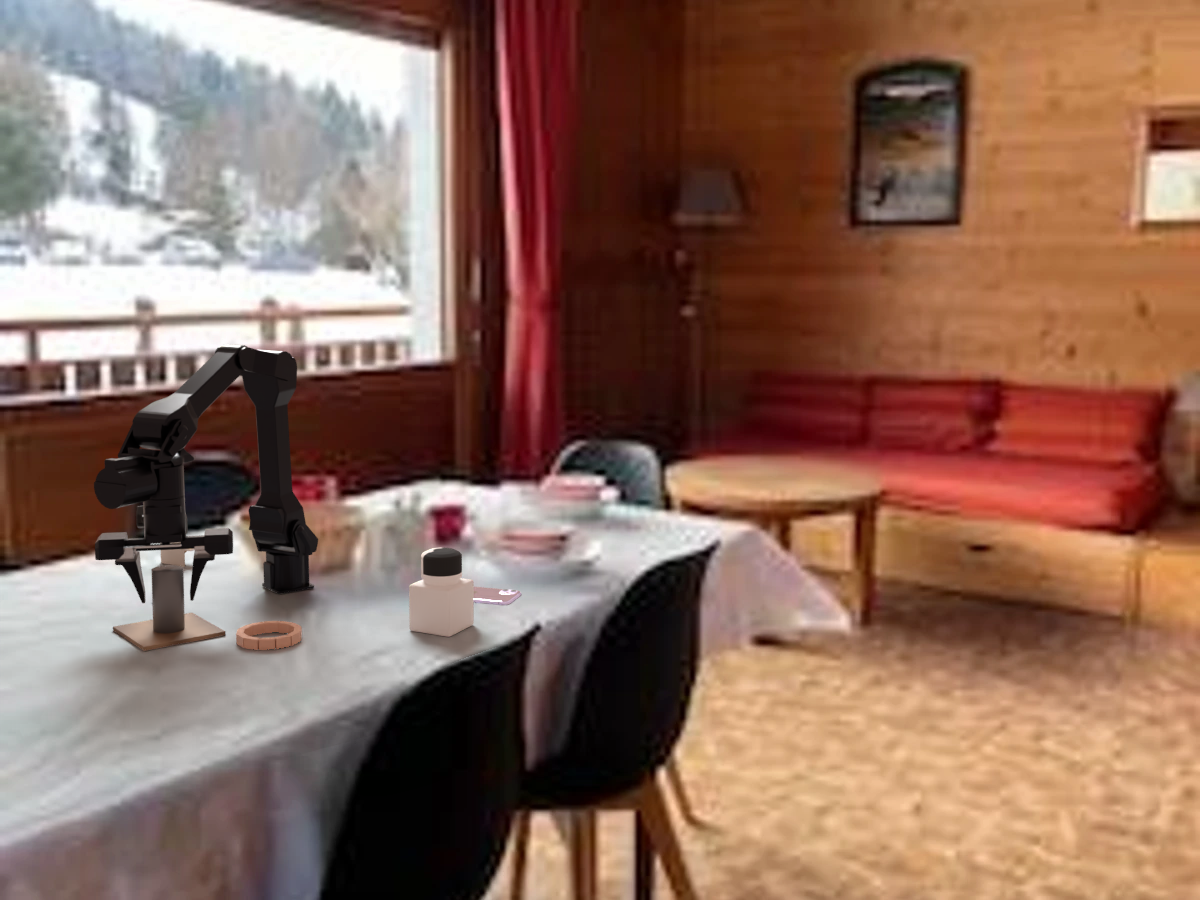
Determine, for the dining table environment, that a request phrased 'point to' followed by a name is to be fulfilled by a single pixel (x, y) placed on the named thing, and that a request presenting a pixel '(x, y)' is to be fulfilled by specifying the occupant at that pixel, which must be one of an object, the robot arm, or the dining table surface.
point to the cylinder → (168, 599)
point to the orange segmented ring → (271, 642)
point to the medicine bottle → (441, 595)
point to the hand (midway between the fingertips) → (168, 601)
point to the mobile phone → (495, 595)
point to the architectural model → (174, 556)
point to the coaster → (149, 639)
